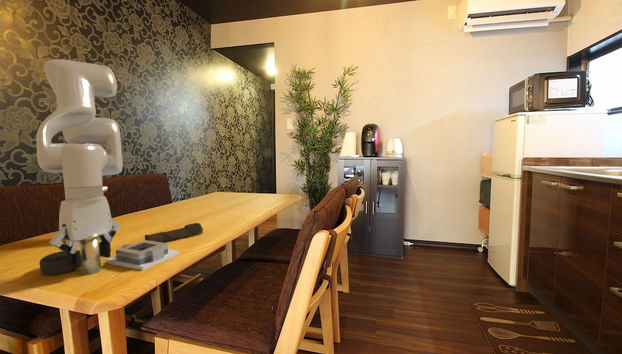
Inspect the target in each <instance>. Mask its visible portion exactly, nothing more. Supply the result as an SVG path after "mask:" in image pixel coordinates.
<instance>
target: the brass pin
mask: <svg viewBox="0 0 622 354" xmlns="http://www.w3.org/2000/svg"><path fill="white" fill-rule="evenodd" d="M99 237H100V235H99V233H98V234H95V235H91V236H89V237H88V238H87V239H85V240H81V241H80V243H79V245H78V248H79V250H80V258H81V267H80V268H81V274H82V275H83V276H88V275H89V276H90V275H95V274H97V273H99V272H101V271H102V261H101V260H102V259H101V256H100V248H99V243H100V240H99Z"/></svg>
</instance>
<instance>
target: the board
mask: <svg viewBox="0 0 622 354" xmlns="http://www.w3.org/2000/svg"><path fill="white" fill-rule="evenodd" d="M178 254H179V255H180V250H174V249H169V248H168V254H166V255H164V258H162V259H159V260H157V261H155V262H150V261H149V262H147V263H144V264H142V265H136V264H131V263H126V262H121V261H117V260H116V255H115V256H112V257H109V258H107V259H106V260H105V263H106V264H108V265H114V266H119V267H124V268H129V269H135V270H139V271H145V270H146V269H149V268H152V267H154V266H156V265H158V264H161V263H163V262H165V261H168V260H170V259H172V258H174V257H176V255H177V256H178Z"/></svg>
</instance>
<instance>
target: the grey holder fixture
mask: <svg viewBox="0 0 622 354" xmlns="http://www.w3.org/2000/svg"><path fill="white" fill-rule="evenodd" d="M168 249H169V245H168V243H167V242H155V241H148V240H145V239H144V240H141V241H139V242H135V243H132V244H131V243H129V244H124V245H122V246H121V248H118V249H115V256H116V260H117V261H121V262H126V263H131V264H136V265H142V264H144V263H147V262H149V261H150V262H155V261H157V260H159V259H162V258H164V255H166V254H168Z"/></svg>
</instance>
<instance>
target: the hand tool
mask: <svg viewBox="0 0 622 354" xmlns="http://www.w3.org/2000/svg"><path fill="white" fill-rule="evenodd" d="M203 233H204V229H203V226H202V225H201V223H199V222H194V223H188V224H185V225H184V227H181V228H176V229H173V230H172V229H171V230H167V231H160V232H156V233H151V234H145V235H144V240H148V241H155V242H161V243H165V242H167V241H172V240H173V241H174V240H177V239H180V238H181V239H182V238H188V239H189V238H194V237H196V236H199V235H201V234H203Z"/></svg>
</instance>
